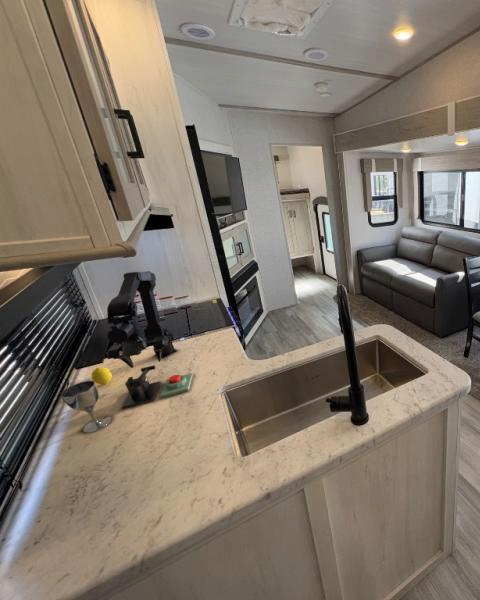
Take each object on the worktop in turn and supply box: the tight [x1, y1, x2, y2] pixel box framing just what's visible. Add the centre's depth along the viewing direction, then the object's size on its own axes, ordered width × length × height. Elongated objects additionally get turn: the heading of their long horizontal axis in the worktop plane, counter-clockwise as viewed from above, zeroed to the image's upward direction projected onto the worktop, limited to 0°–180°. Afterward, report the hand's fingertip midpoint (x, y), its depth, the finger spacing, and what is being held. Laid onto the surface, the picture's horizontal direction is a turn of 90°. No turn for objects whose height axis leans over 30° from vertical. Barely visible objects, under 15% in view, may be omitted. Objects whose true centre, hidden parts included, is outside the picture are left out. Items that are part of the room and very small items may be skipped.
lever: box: [131, 364, 156, 388], centre depth 120 cm, size 15×4×2 cm, turn 24°
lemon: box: [91, 366, 113, 385], centre depth 123 cm, size 6×6×8 cm
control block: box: [159, 373, 194, 399], centre depth 121 cm, size 11×9×3 cm
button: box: [168, 374, 181, 384], centre depth 120 cm, size 4×4×2 cm
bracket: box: [121, 373, 161, 410], centre depth 116 cm, size 12×9×8 cm
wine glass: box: [60, 380, 112, 434], centre depth 101 cm, size 8×8×15 cm
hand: (146, 364), depth 126 cm, fingers open, 9 cm apart
